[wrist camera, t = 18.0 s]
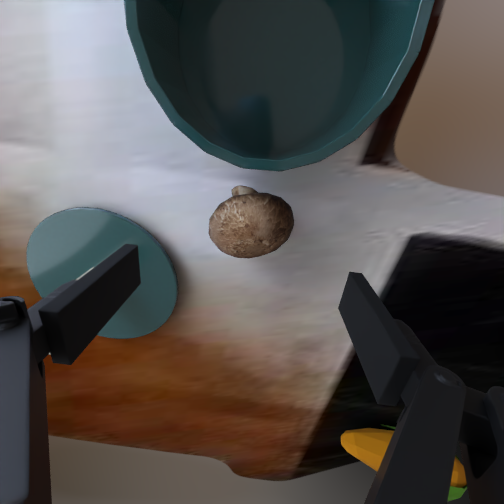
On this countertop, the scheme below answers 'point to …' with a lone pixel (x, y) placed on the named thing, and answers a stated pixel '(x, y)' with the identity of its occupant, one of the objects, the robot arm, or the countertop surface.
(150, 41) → the pot
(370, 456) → the corn
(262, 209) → the mushroom
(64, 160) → the countertop surface
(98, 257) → the lid
